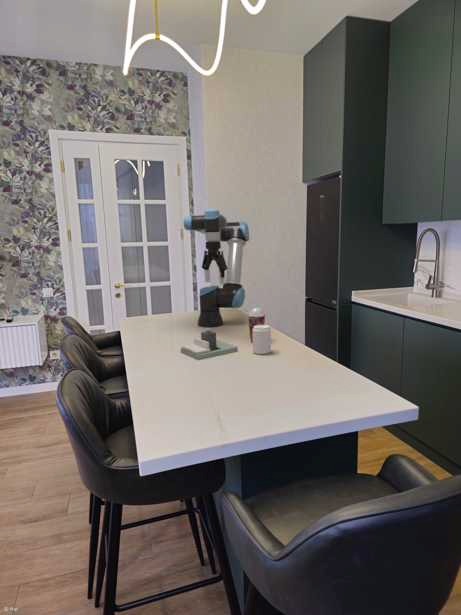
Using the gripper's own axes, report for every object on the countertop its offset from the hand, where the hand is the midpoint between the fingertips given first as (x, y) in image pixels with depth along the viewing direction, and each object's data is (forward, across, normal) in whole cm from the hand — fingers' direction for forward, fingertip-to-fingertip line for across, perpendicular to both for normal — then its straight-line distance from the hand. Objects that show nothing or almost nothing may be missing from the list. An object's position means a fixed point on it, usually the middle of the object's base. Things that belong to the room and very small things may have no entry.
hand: (214, 283), depth 204 cm
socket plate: (+29, +19, -16) cm, 38 cm away
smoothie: (+29, +20, +11) cm, 37 cm away
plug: (+29, +19, -16) cm, 38 cm away
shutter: (+26, +19, -23) cm, 40 cm away
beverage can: (+29, +36, +1) cm, 46 cm away
